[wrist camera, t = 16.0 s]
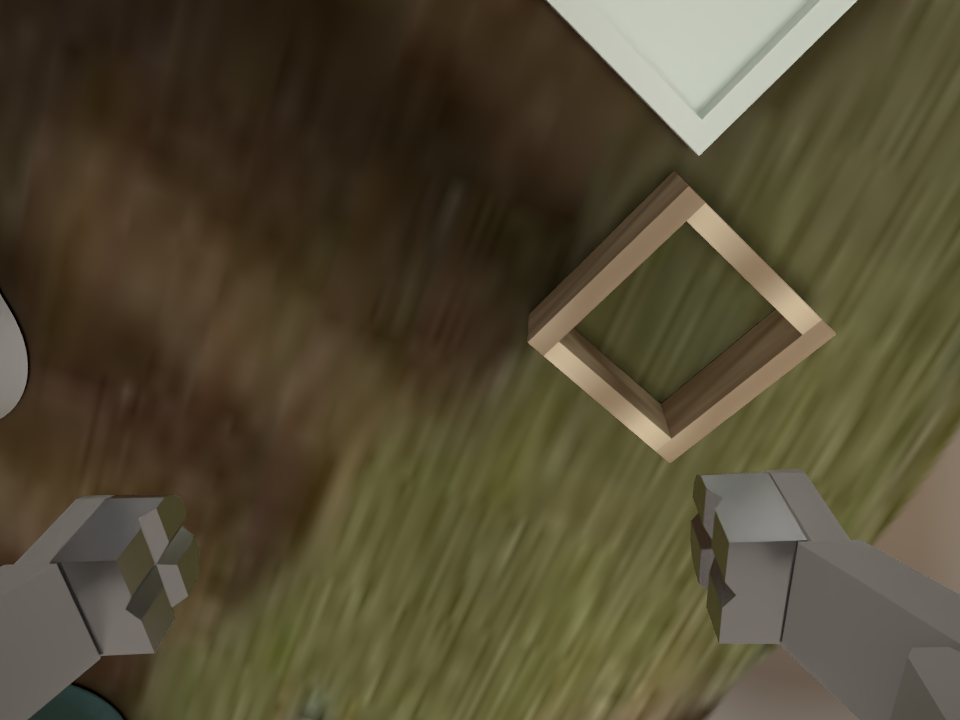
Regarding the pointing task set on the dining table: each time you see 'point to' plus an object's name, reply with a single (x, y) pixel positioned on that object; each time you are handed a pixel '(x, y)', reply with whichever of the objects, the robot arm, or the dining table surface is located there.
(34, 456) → the dining table surface
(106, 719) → the flower pot
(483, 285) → the dining table surface
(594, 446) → the dining table surface
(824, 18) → the tray
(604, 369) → the sleeve
